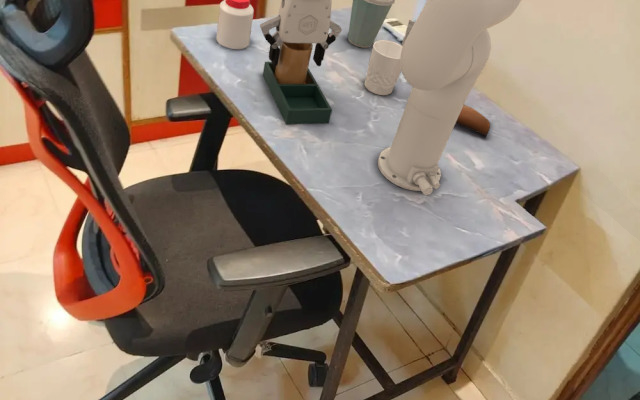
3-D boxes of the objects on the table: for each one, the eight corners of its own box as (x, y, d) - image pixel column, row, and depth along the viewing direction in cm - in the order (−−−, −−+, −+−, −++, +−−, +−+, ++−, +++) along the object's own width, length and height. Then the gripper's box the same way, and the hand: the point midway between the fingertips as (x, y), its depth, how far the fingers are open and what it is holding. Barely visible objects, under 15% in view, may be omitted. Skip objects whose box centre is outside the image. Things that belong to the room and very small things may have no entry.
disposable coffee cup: (337, 29, 155) (351, -27, 145) (375, 34, 158) (392, -21, 148) (344, 50, 148) (359, -8, 138) (385, 54, 150) (402, -2, 140)
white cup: (395, 83, 141) (407, 45, 134) (394, 100, 135) (407, 61, 128) (363, 75, 140) (374, 37, 134) (360, 92, 134) (372, 53, 128)
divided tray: (302, 75, 134) (305, 61, 132) (328, 123, 122) (332, 109, 120) (262, 75, 131) (264, 61, 129) (285, 124, 119) (288, 110, 117)
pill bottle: (219, 29, 142) (224, -15, 135) (251, 36, 143) (257, -7, 135) (213, 44, 136) (217, -1, 129) (246, 52, 137) (252, 7, 130)
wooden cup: (307, 92, 128) (316, 51, 122) (278, 92, 126) (286, 50, 119) (298, 75, 133) (307, 35, 126) (269, 75, 130) (277, 34, 124)
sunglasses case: (490, 119, 136) (499, 105, 130) (481, 144, 134) (489, 132, 128) (416, 92, 138) (421, 77, 132) (406, 117, 136) (411, 103, 130)
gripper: (272, -10, 108) (260, 72, 120) (357, -6, 115) (338, 72, 126) (261, -27, 113) (251, 53, 125) (343, -22, 120) (327, 54, 131)
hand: (295, 62), depth 125 cm, fingers open, 9 cm apart
